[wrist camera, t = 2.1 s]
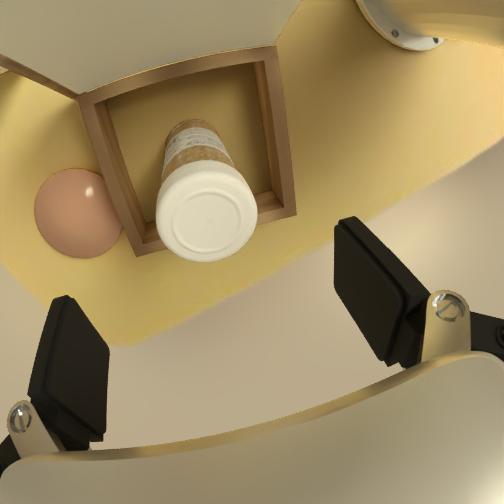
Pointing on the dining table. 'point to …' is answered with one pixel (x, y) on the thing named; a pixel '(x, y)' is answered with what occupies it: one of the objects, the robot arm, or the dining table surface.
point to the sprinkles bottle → (202, 196)
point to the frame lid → (130, 34)
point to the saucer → (77, 213)
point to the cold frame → (94, 103)
